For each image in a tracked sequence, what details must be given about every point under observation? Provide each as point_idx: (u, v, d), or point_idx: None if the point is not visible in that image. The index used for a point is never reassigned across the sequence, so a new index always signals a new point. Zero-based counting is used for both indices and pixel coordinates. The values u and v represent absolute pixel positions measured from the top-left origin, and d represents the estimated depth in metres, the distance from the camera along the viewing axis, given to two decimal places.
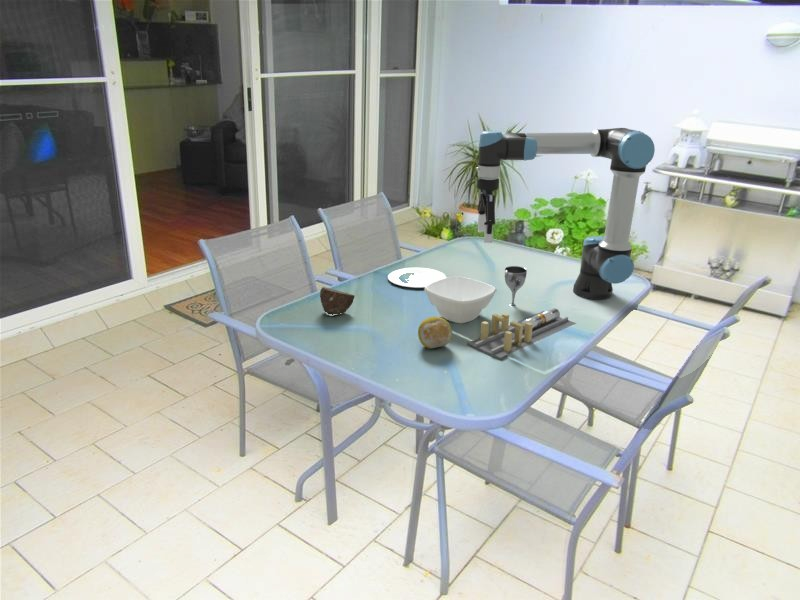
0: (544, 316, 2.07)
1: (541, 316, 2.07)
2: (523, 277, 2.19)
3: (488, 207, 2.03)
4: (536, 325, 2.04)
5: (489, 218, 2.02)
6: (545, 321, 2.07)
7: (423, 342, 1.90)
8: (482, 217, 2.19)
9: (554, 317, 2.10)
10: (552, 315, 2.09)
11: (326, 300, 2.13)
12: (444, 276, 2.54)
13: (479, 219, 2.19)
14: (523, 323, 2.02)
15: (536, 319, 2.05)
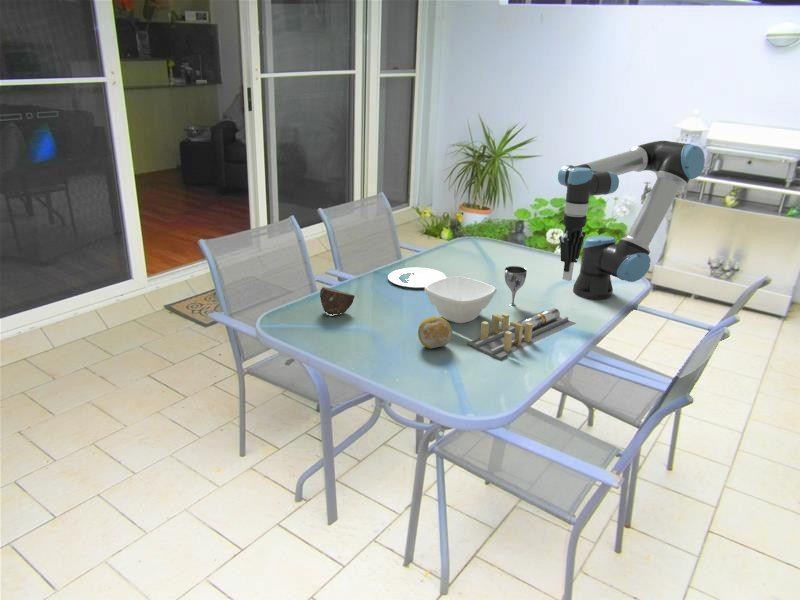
0: (544, 316, 2.07)
1: (541, 316, 2.07)
2: (523, 277, 2.19)
3: (561, 247, 2.05)
4: (536, 325, 2.04)
5: (562, 257, 2.07)
6: (545, 321, 2.07)
7: (423, 342, 1.90)
8: None
9: (554, 317, 2.10)
10: (552, 315, 2.09)
11: (326, 300, 2.13)
12: (444, 276, 2.54)
13: None
14: (523, 323, 2.02)
15: (536, 319, 2.05)
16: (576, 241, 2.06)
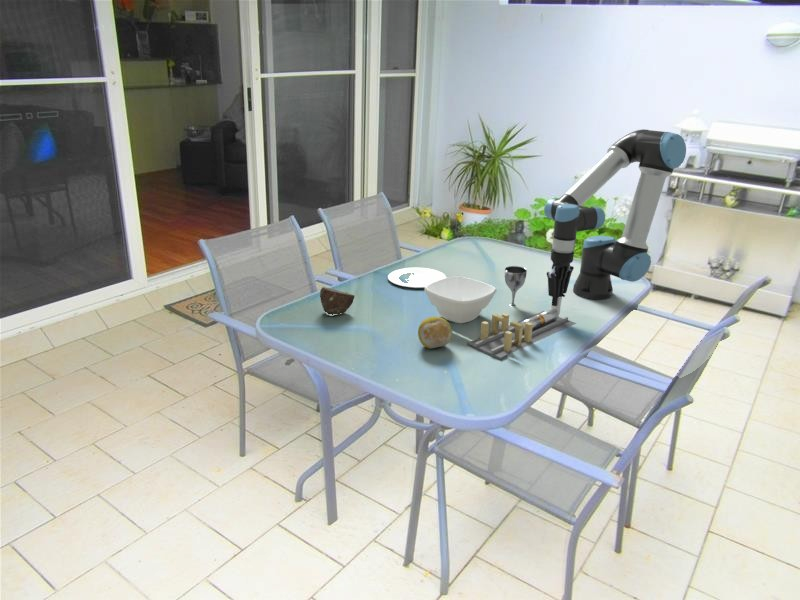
0: (543, 316, 2.07)
1: (540, 317, 2.06)
2: (523, 277, 2.19)
3: (548, 282, 2.06)
4: (535, 326, 2.03)
5: (549, 292, 2.08)
6: (544, 322, 2.07)
7: (423, 342, 1.90)
8: None
9: (553, 318, 2.10)
10: (550, 316, 2.09)
11: (326, 300, 2.13)
12: (444, 276, 2.54)
13: None
14: (522, 324, 2.02)
15: (535, 319, 2.04)
16: (564, 276, 2.08)
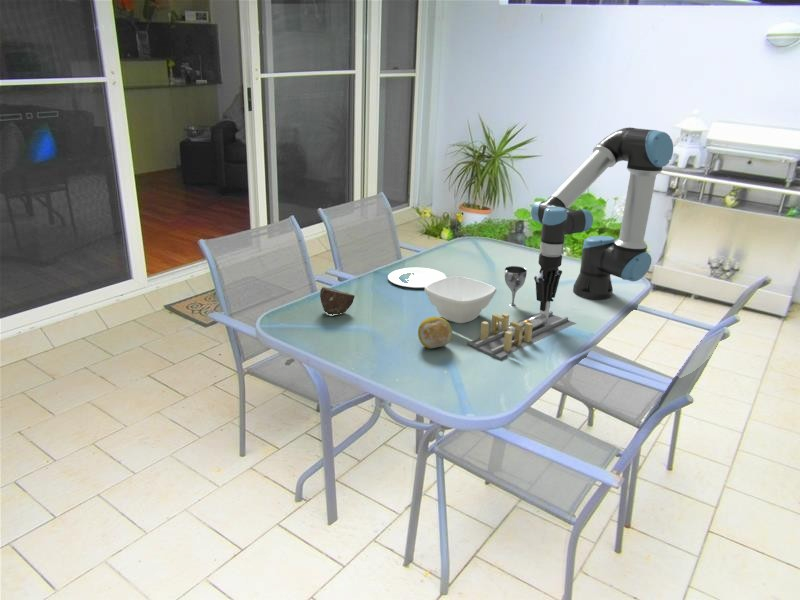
0: (530, 322, 2.02)
1: None
2: (523, 277, 2.19)
3: (536, 287, 2.02)
4: None
5: (537, 296, 2.04)
6: None
7: (423, 342, 1.90)
8: None
9: (541, 323, 2.05)
10: (538, 321, 2.05)
11: (326, 300, 2.13)
12: (444, 276, 2.54)
13: None
14: (509, 329, 1.98)
15: (523, 325, 2.00)
16: (552, 280, 2.03)
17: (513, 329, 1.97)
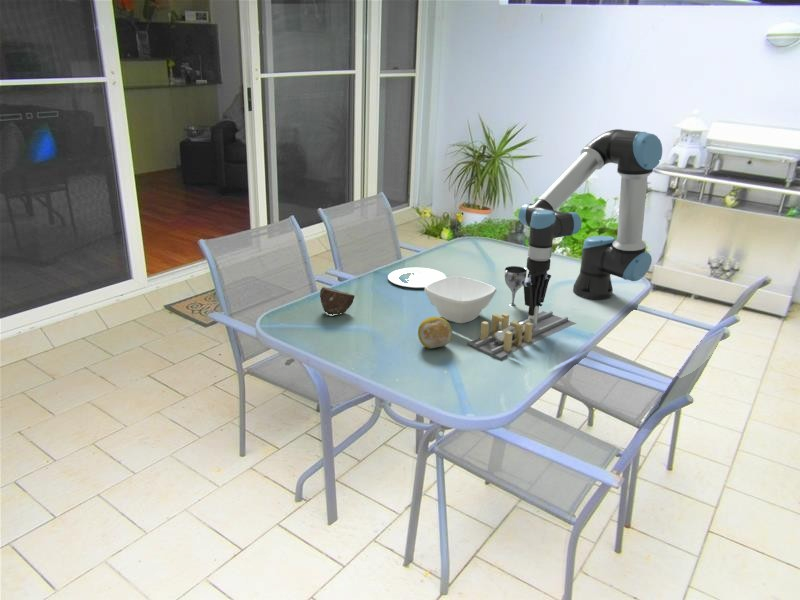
0: None
1: None
2: (523, 277, 2.19)
3: (524, 291, 1.98)
4: None
5: (525, 301, 2.00)
6: None
7: (423, 342, 1.90)
8: None
9: None
10: None
11: (326, 300, 2.13)
12: (444, 276, 2.54)
13: None
14: (496, 335, 1.94)
15: (510, 330, 1.96)
16: (540, 285, 1.99)
17: (500, 334, 1.93)
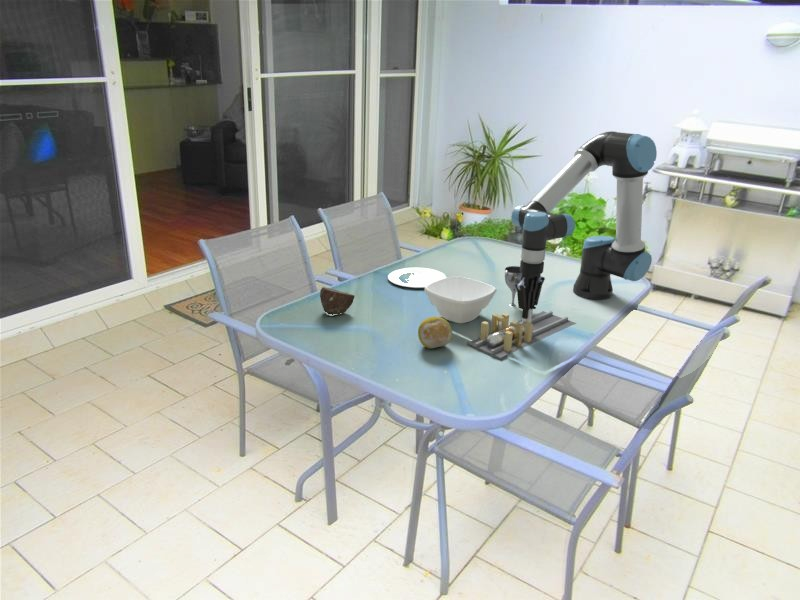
0: (512, 330, 1.96)
1: (509, 330, 1.96)
2: None
3: (518, 294, 1.96)
4: (503, 340, 1.93)
5: (519, 304, 1.98)
6: (513, 335, 1.96)
7: (423, 342, 1.90)
8: None
9: (523, 331, 1.99)
10: None
11: (326, 300, 2.13)
12: (444, 276, 2.54)
13: None
14: (489, 337, 1.91)
15: (504, 333, 1.94)
16: (534, 287, 1.97)
17: (494, 337, 1.91)
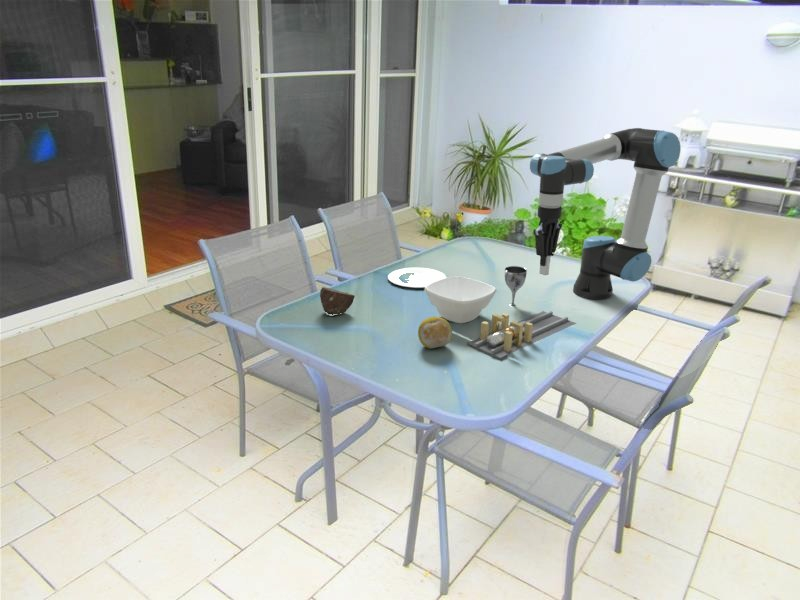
0: (513, 330, 1.96)
1: (510, 330, 1.96)
2: (523, 277, 2.19)
3: (536, 240, 1.95)
4: (503, 340, 1.93)
5: (537, 251, 1.97)
6: (513, 336, 1.96)
7: (423, 342, 1.90)
8: None
9: (523, 331, 1.99)
10: None
11: (326, 300, 2.13)
12: (444, 276, 2.54)
13: None
14: (490, 338, 1.91)
15: (504, 333, 1.94)
16: (552, 233, 1.97)
17: (494, 338, 1.91)
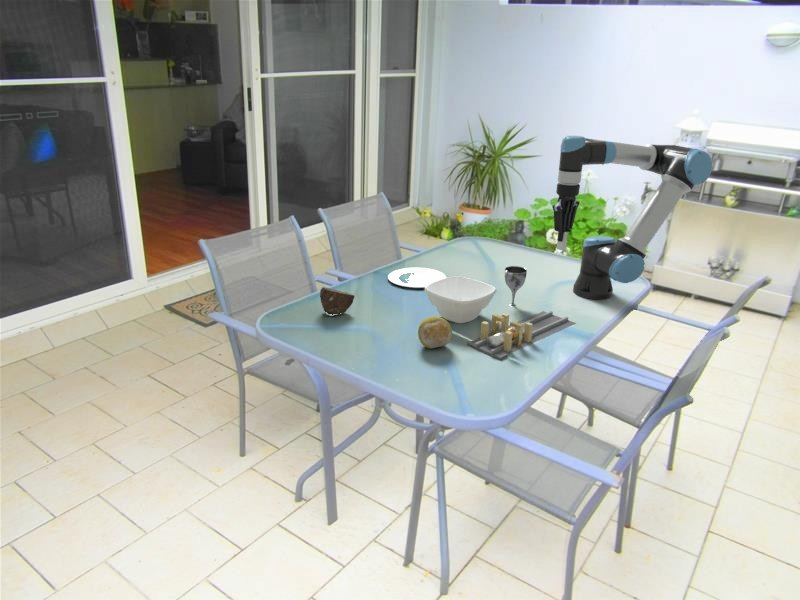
0: None
1: (512, 332, 1.95)
2: (523, 277, 2.19)
3: (554, 216, 2.06)
4: None
5: (555, 226, 2.07)
6: None
7: (423, 342, 1.90)
8: None
9: None
10: (523, 332, 1.98)
11: (326, 300, 2.13)
12: (444, 276, 2.54)
13: None
14: (492, 339, 1.91)
15: None
16: (570, 210, 2.07)
17: (497, 340, 1.90)
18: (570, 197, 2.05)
